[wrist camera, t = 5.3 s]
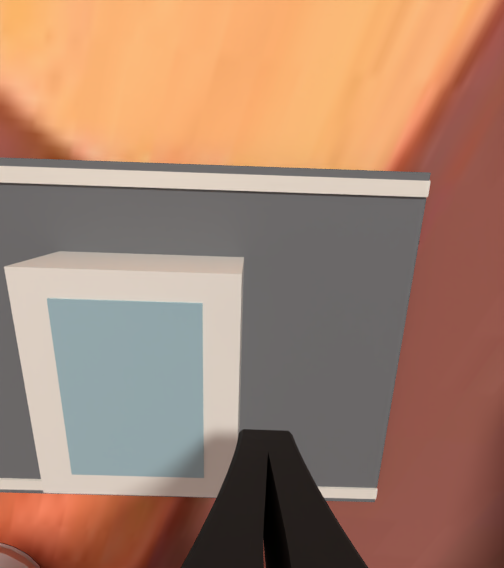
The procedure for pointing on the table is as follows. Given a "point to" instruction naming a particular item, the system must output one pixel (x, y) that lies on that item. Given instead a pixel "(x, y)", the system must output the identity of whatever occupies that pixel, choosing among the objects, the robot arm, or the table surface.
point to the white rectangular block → (130, 369)
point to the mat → (256, 288)
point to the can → (15, 558)
